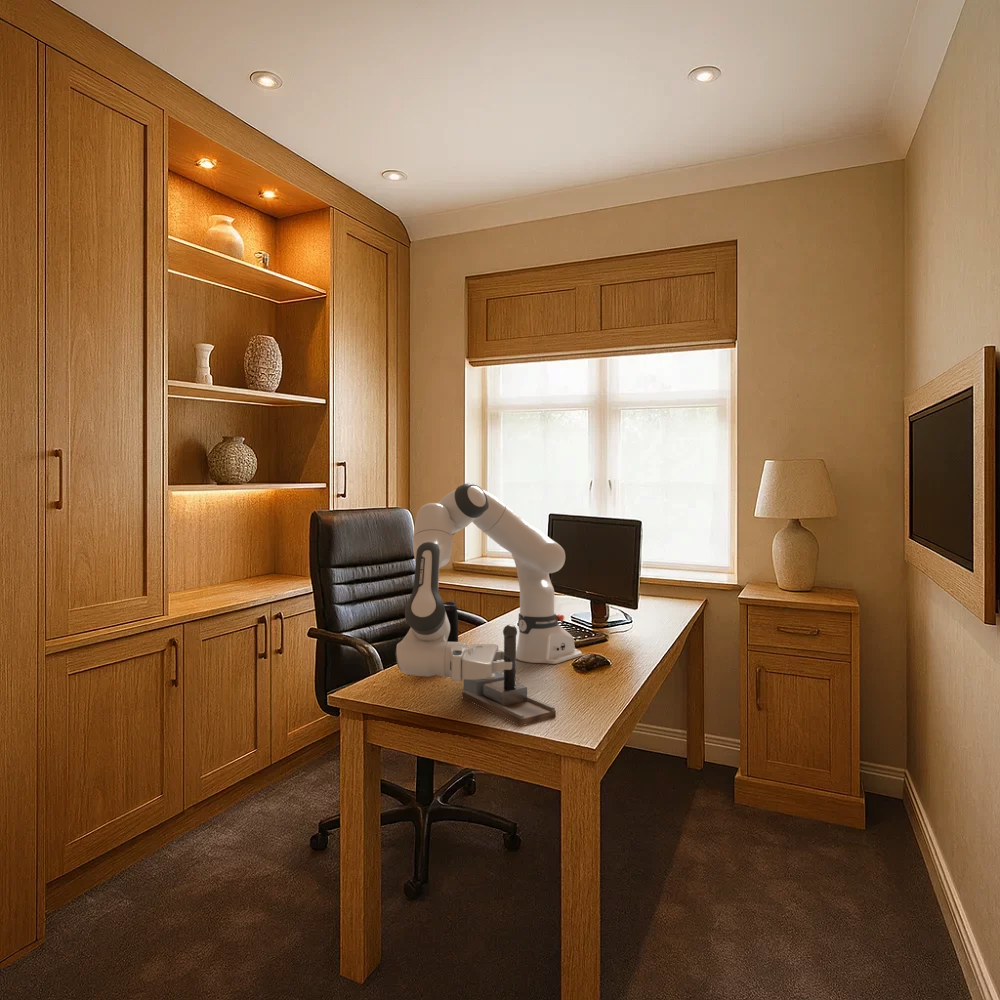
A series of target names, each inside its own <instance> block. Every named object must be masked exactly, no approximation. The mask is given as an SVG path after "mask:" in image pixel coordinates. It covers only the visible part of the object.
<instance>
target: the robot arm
mask: <svg viewBox="0 0 1000 1000" xmlns="http://www.w3.org/2000/svg"><path fill="white" fill-rule="evenodd" d="M471 523H473V524H474V525H475V526H476V527H477V528H478V529H479V530H480V531H482V532H483V533H484V534H485V535H486V536H488V537H489V538H490V539H491V540H493V541H494V542H495V543H496V544H497V545H499V547H501V548H503V549H505V550H506V551H508V552H509V553H511V557H512V559H513V561H514V563H515V569H516V574H517V575H516V576H517V580H518V586H519V613H518V622H517V623H518V639H517V643H516V660H517V661H519V662H520V661H521V662H526V663H533V664H552V665H555V664H559V663H562V662H566V661H568V660H572V659H575V658H578V657H581V656H583V653H582V651H581V650H580V649H577V648H576V647H575V646H576V645H575V640H574V636H572V634H570V632H568V631H567V630H565V629H564V627H562V626H561V625H559V621H560V622H564V621H565V616H564V615H563V614H560V613H559V614H556V613H555V589H554V586H553V584H552V581H551V578H550V574H554V573H556V572H557V573H558V572H559V571H560V570H561V569H562V568H563V566H565V561H566V551H565V549H564V548H563V547H562V546H561V545H560V544H559V543H558V542H557V541H555V540H554V539H552V538H551V537H549V536H548V535H547V534H545V533H544V532H543V531H541V530H540V529H538V528H536V526H534V525H532V524H531V523H529V522H528V521H526V520H525V519H523V518H522V517H521V516H520V515H518V514H517V513H516V512H515V511H514V510H513V509H512V508H510V507H509V506H508V505H507V504H505V503H504V501H501V500H500V499H499V498H498V497H497V496H495V495H493V493H490V492H489V491H488V490H485V489H483V488H481V486H478V485H477V484H474V483H471V482H467V483H464V484H461V485H459V486H458V487H457V488H456V489H453V490H452V491H450V492H449V493H447V494H446V495H444V496H443V498H441V500H439V501H438V502H429V503H426V504H424V505H422V506H421V507H420V508H419V509H418V511H417V514H416V518H415V523H414V527H413V537H412V538H413V540H412V547H413V550H412V551H413V556H414V562H415V565H414V566H415V568H414V577H413V580H414V581H413V589H412V592H411V594H410V597H409V599H408V601H407V603H406V604H405V608H404V617H405V621H406V623H407V624H408V626H409V627H410V628H409V630H408V631H407V633H406V635H405V636H404V637H403V638H402V640H401V641H399V642H398V643H397V644H396V648H395V660H396V666H397V667H398V669H399V671H400V672H401V673H403V674H405V675H408V676H416V677H433V676H442V677H444V678H450V679H451V680H452V681H453V682H458V683H459V682H462V680H463V681H464V680H480V679H488V678H491V676H492V673H493V671H496V672H500V671H504V670H511V669H512V661H505V662H504V650H499V645H498V644H494V643H481V644H479V643H478V644H476V643H475V644H471V645H470V646H468V643H467V641H458V642H447V641H448V637H449V633H450V623H449V620H448V617H447V614H446V611H445V607H444V601H443V599H442V597H441V595H440V592H439V581H440V569H441V568H444V567H445V566H446V565H447V564H448V563H449V562H450V561H451V557H452V552H453V536H454V535H455V534H456V533H458V532H459V531H462V530H464V529H465V528H467V527H468V526H469V525H470V524H471Z"/></svg>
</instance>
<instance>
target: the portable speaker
mask: <svg viewBox="0 0 1000 1000" xmlns="http://www.w3.org/2000/svg"><path fill="white" fill-rule="evenodd" d="M443 603H444V607H445V611H446V614H447V617H448V620H449V623H450V633H449V637H448V641H447V642H459V617H458V616H459V615H458V606H457V602H455V601H445V602H444V601H443Z"/></svg>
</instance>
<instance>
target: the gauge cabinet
mask: <svg viewBox="0 0 1000 1000" xmlns="http://www.w3.org/2000/svg"><path fill="white" fill-rule="evenodd" d="M503 680H504V673H501V672H500V671H493V673H492V676H491V678H488V679H480V680H464V679H463V689H465V690H467V691H469V692H471V693H474V694H476V695H478V694H479V695H481V696H483V685H484V684H487V683H492V682H497V681H503Z"/></svg>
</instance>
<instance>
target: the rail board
mask: <svg viewBox="0 0 1000 1000" xmlns="http://www.w3.org/2000/svg"><path fill="white" fill-rule="evenodd" d="M461 694H462V695H461V698H462V697H463V698H465V699H467V700H466V701H468V700H469V701H468V702H470V701H471V702H470V703H472V702H473V703H472V704H474V703H475V704H474V705H476V704H477V705H476V706H478V705H479V706H478V707H480V706H481V707H480V708H482V707H483V709H484V708H485V709H484V710H486V709H487V710H486V711H488V710H489V712H490V711H491V713H492V712H493V713H492V714H494V713H495V715H496V714H497V715H496V716H498V715H499V716H498V717H500V716H501V717H500V718H503V719H505V718H506V719H505V720H507V719H508V720H507V721H509V720H510V721H509V722H511V721H512V722H511V723H513V722H514V723H513V724H515V725H518V726H519V727H521V725H522V726H526V725H529V724H533V723H537V722H540V721H544V720H548V719H551V718H556V716H557V714H556V713H557V712H556V708H555V706H553V705H550V704H547V703H546V702H543V701H540V700H538V699H536V698H534V697H531V696H530V695H529V696H528V695H527V701H523V702H519V703H515V704H511V705H506V706H502V705H500V704H498V703H496V702H494V701H492V700H489V699H487V698H485V697H483V696H481V695H479V694H478V695H476V694H474V693H471V692H469V691H467V690H465V689H464V688H463V689H462V692H461ZM463 698H462V699H463ZM465 699H464V700H465ZM525 724H526V725H525Z"/></svg>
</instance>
